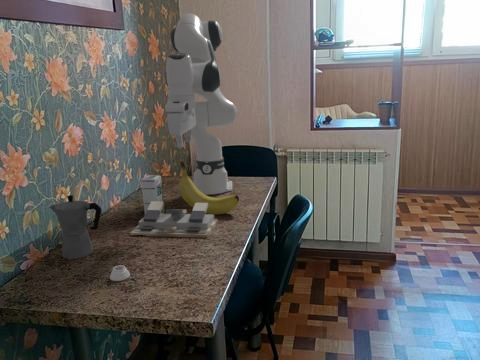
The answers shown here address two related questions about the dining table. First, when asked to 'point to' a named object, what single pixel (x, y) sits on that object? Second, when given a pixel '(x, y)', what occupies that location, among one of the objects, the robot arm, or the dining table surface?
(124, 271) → the white cup
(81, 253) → the coffeepot
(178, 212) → the rocker
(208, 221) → the switch housing
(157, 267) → the dining table surface
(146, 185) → the syrup box
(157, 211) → the block
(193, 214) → the rocker
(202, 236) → the switch board
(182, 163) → the banana
